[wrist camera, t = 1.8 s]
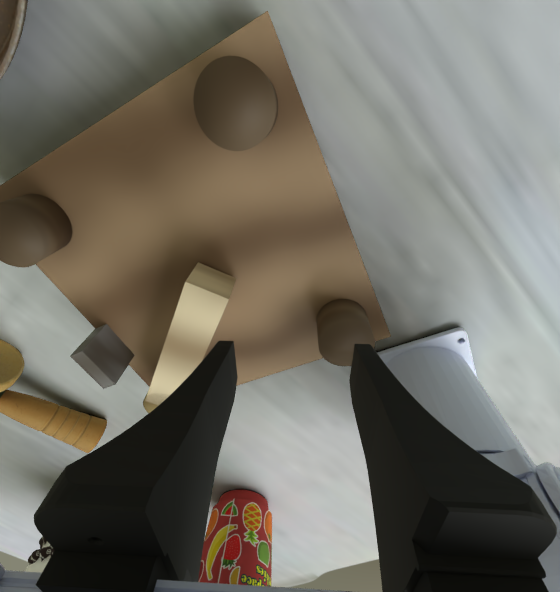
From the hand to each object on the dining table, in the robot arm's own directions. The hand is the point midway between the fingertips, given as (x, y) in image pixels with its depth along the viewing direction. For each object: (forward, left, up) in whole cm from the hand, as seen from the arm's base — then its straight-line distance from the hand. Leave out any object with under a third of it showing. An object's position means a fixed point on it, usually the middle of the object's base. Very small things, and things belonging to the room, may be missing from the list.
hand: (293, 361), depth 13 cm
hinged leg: (-1, +8, -7) cm, 10 cm away
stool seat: (+3, +5, -9) cm, 11 cm away
